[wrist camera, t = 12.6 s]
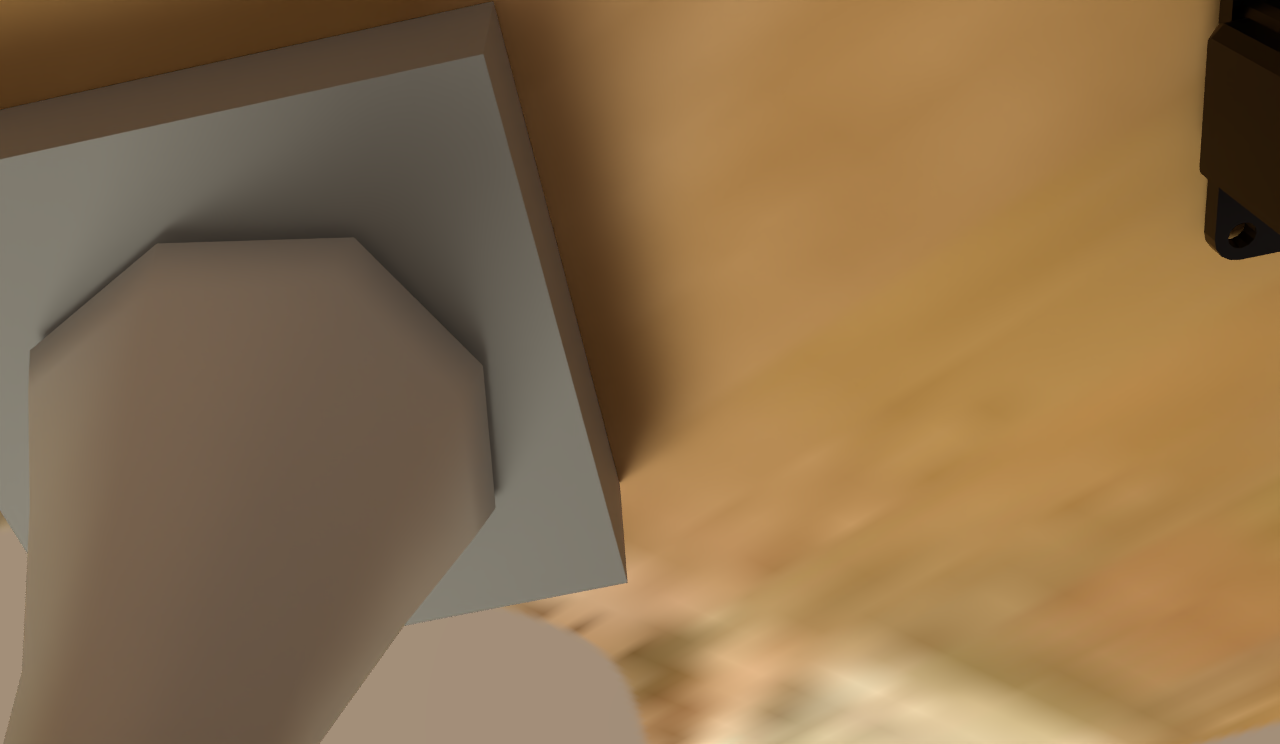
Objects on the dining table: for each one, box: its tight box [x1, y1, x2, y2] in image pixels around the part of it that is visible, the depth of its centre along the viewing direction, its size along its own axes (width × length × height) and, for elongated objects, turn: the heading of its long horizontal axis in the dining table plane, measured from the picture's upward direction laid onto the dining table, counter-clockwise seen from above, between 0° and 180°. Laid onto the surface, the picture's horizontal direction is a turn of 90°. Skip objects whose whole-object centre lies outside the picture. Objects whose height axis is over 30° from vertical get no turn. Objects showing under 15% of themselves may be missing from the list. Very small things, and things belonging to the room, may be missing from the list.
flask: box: [3, 237, 496, 744], centre depth 15 cm, size 7×7×10 cm
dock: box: [0, 1, 627, 626], centre depth 20 cm, size 10×10×3 cm
